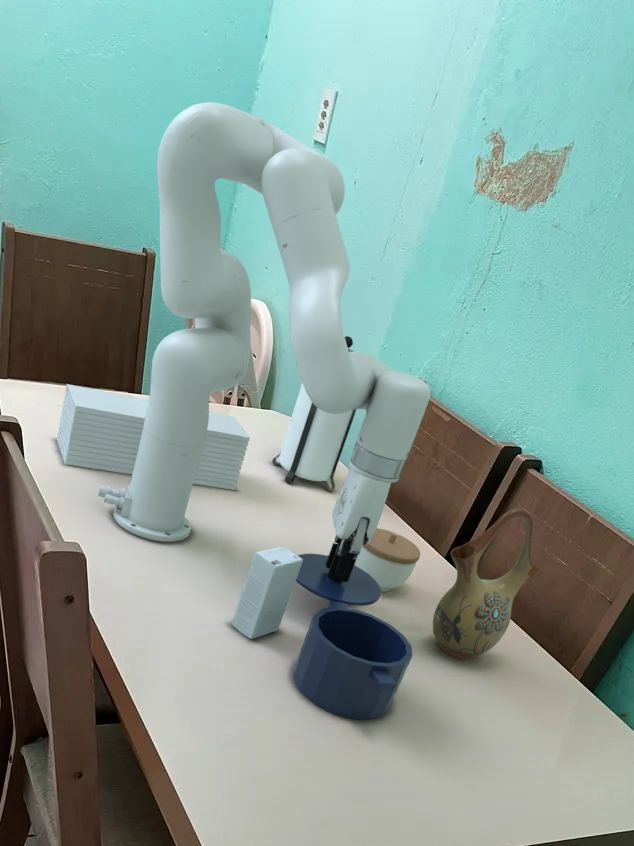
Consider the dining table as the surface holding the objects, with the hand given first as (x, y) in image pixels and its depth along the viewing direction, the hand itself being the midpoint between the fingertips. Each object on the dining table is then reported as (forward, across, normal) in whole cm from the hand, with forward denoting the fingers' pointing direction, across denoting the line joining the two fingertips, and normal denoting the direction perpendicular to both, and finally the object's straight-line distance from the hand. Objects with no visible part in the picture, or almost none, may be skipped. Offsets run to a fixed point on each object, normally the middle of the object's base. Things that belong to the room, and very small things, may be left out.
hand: (336, 573), depth 131 cm
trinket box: (+7, -15, +11) cm, 20 cm away
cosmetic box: (+7, +11, -11) cm, 17 cm away
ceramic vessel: (+7, +3, +22) cm, 23 cm away
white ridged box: (+6, -40, -31) cm, 51 cm away
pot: (+7, +21, +1) cm, 22 cm away
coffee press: (+7, -59, 0) cm, 59 cm away
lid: (+1, 0, 0) cm, 1 cm away
